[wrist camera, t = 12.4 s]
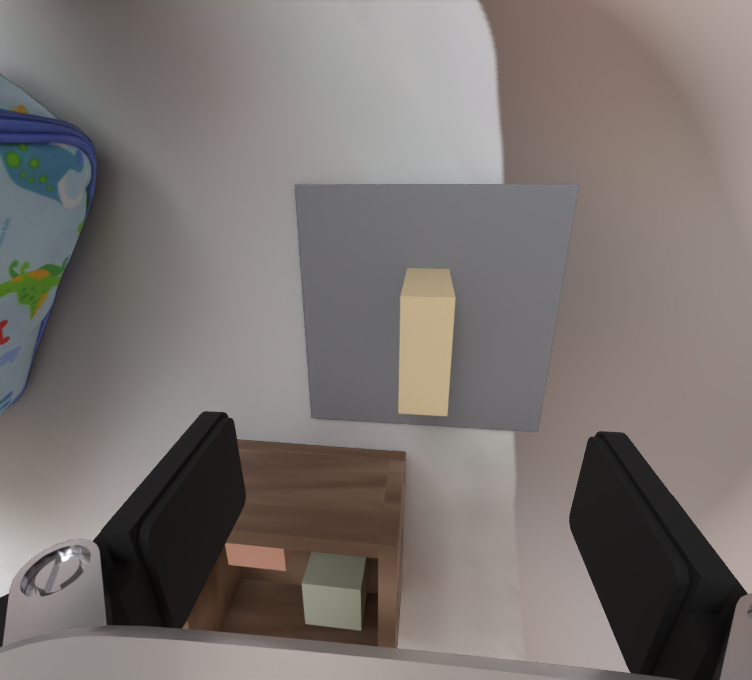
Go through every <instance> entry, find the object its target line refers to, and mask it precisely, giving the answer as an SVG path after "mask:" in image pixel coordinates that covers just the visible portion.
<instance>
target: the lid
mask: <svg viewBox="0 0 752 680" xmlns="http://www.w3.org/2000/svg"><path fill="white" fill-rule="evenodd" d="M578 188H579V184H344V185H295V196H296V210H297V224H298V238H299V251H300V265H301V279H302V293H303V307H304V321H305V335H306V349H307V363H308V377H309V391H310V404H311V418H318V419H334V420H350V421H367V422H383V423H399V424H415V425H431V426H447V427H463V428H479V429H495V430H512V431H529V432H538V429H539V422H540V416H541V410H542V404H543V398H544V392H545V386H546V380H547V374H548V368H549V362H550V356H551V350H552V344H553V338H554V332H555V326H556V320H557V314H558V308H559V302H560V296H561V290H562V284H563V278H564V272H565V266H566V260H567V254H568V247H569V242H570V236H571V229H572V224H573V218H574V212H575V206H576V200H577V194H578Z"/></svg>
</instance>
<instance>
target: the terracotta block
mask: <svg viewBox="0 0 752 680" xmlns="http://www.w3.org/2000/svg"><path fill="white" fill-rule="evenodd" d="M225 547H226V553H227V558H228V564H229V565H235V566H244V567H253V568H262V569H271V570H281V571H286V570H287V567H288V564H289V562H290V559H291V556H292V553H293V551H294V550H290V549H280V548H271V547H261V546H251V545H241V544H232V543H225Z"/></svg>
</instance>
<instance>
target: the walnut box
mask: <svg viewBox="0 0 752 680" xmlns="http://www.w3.org/2000/svg"><path fill="white" fill-rule="evenodd" d="M237 443H238V449H239V455H240V461H241V467H242V473H243V479H244V485H245V491H246V500H245V505H244V507H243V510H242V512H241V514H240V516H239V518H238V520H237V522H236V524H235V526H234V527H233V529H232V531H231V533H230V535H229V537H228V539H227V541H226V543H232V544H241V545H251V546H261V547H271V548H280V549H290V550H294V551H293V553H292V556H291V559H290V562H289V564H288V567H287V570H286V571H281V570H271V569H262V568H253V567H244V566H235V565H229V564H228V558H227V553H226V547H225V545H224V547H223V549H222V551H221V553H220V555H219V557H218V559H217V561H216V563H215V565H214V567H213V569H212V571H211V573H210V575H209V577H208V579H207V581H206V583H205V585H204V587H203V589H202V591H201V593H200V595H199V597H198V599H197V601H196V603H195V605H194V607H193V609H192V611H191V613H190V615H189V617H188V619H187V621H186V623H185V625H184V626H183V628H182V629H191V630H205V631H218V632H228V633H239V634H250V635H261V636H272V637H283V638H294V639H304V640H315V641H326V642H336V643H346V644H357V645H367V646H377V647H388V648H397V645H398V630H399V615H400V600H401V576H402V545H403V513H404V482H405V452H399V451H385V450H371V449H358V448H344V447H331V446H317V445H303V444H290V443H276V442H263V441H249V440H237ZM311 552H319V553H329V554H339V555H348V556H358V557H368V558H369V583H368V590H367V596H366V603H365V610H364V616H363V623H362V630H361V631H359V630H351V629H343V628H334V627H326V626H318V625H310V624H305V614H304V604H303V593H302V581H303V578H304V574H305V571H306V568H307V565H308V562H309V558H310V555H311Z"/></svg>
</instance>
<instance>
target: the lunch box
mask: <svg viewBox="0 0 752 680" xmlns="http://www.w3.org/2000/svg"><path fill="white" fill-rule="evenodd" d="M96 175H97V169H96V153H95V148H94V145H93V143H92V141H91V140H90V138H89V137H88V136H87V135H86V134H85V133H84V132H83V131H81V130H80V129H79V128H77V127H76V126H74V125H72V124H70V123H67V122H65V121H61V120H58V119H57V118H56V117H55V116H54V115H52V114H51V113H50V112H49V111H48V110H47V109H46V108H44V107H43V106H42V105H41V104H39V103H38V102H37V101H36V100H34V99H33V98H32V97H30V96H29V95H28V94H26V93H25V92H24V91H22V90H21V89H20V88H18V87H17V86H16V85H14V84H13V83H12V82H10V81H9V80H8V79H6V78H5V77H4V76H2V75H1V74H0V415H1V414H2V412H3V411H4V410H5V409H6V408H7V407H9V406H10V405H12V404H13V403H14V402H15V401H16V400H17V399H18V398H19V397H20V396H21V395H22V393H23V391H24V389H25V386H26V384H27V380H28V376H29V372H30V369H31V366H32V362H33V359H34V356H35V354H36V351H37V348H38V346H39V343H40V340H41V337H42V335H43V332H44V329H45V326H46V323H47V321H48V318H49V315H50V311H51V307H52V306H53V305H54V301H55V296H56V291H57V288H58V284H59V282H60V280H61V277H62V275H63V273H64V270H65V268H66V266H67V264H68V262H69V260H70V257H71V255H72V253H73V250H74V248H75V246H76V243H77V240H78V238H79V235H80V232H81V230H82V227H83V225H84V223H85V220H86V218H87V215H88V212H89V209H90V206H91V203H92V199H93V196H94V191H95V185H96Z"/></svg>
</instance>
